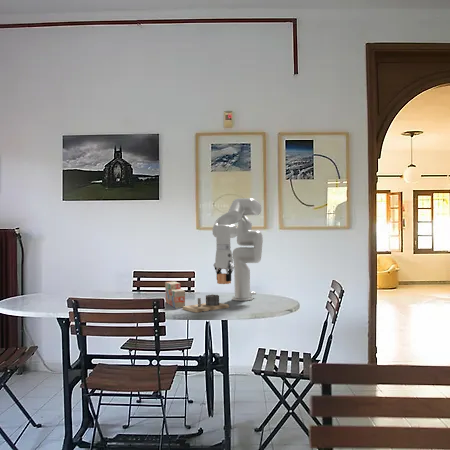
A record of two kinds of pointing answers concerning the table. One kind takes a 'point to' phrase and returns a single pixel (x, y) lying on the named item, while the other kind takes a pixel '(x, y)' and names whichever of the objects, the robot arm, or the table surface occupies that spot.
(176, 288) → the stack of blocks
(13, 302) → the table surface
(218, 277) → the loose gear
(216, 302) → the gear board
